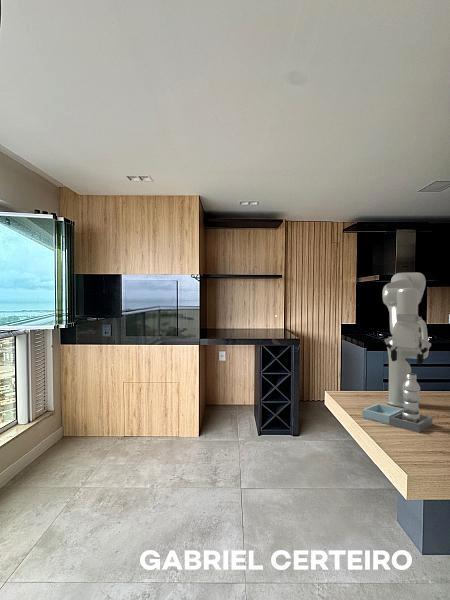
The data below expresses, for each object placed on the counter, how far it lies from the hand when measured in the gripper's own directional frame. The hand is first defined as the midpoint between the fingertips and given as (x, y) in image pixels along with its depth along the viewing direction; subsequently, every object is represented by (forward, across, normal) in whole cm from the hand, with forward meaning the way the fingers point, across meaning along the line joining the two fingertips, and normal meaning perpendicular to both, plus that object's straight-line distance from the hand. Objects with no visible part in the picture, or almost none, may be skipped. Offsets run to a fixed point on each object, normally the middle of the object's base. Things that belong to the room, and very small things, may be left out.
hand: (406, 362), depth 139 cm
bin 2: (+24, -1, -1) cm, 25 cm away
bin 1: (+25, +10, -1) cm, 26 cm away
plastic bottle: (+25, -1, -1) cm, 25 cm away
